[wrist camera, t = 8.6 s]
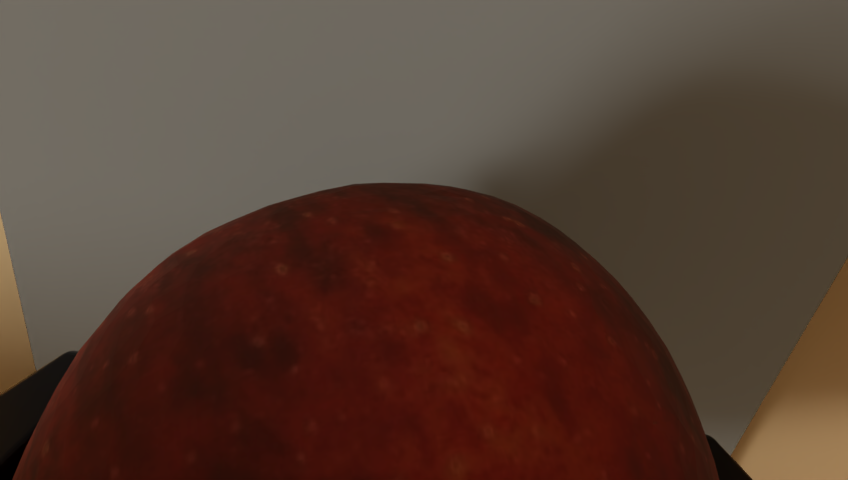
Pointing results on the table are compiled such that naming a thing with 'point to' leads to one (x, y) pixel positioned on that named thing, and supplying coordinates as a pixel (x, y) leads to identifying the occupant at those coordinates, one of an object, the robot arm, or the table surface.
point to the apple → (374, 355)
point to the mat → (445, 146)
